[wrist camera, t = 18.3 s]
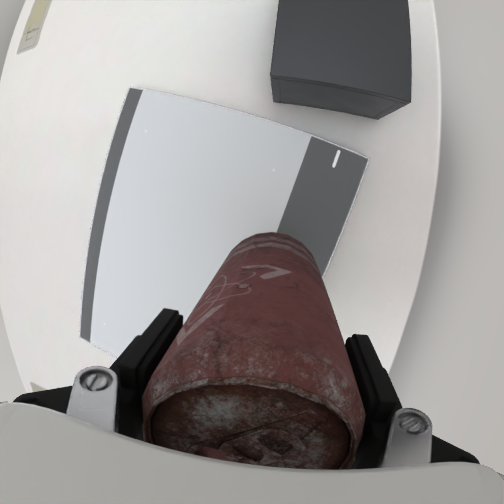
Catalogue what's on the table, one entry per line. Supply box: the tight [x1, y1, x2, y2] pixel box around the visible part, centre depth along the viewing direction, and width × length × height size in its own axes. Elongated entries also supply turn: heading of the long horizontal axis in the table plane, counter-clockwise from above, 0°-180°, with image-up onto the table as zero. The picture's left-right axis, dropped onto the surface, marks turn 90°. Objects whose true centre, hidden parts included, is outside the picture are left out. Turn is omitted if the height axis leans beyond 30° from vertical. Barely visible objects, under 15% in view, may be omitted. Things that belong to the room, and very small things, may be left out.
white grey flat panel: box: [79, 86, 370, 358], centre depth 31 cm, size 32×25×1 cm
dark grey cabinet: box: [270, 0, 412, 120], centre depth 21 cm, size 12×10×8 cm
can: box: [142, 232, 366, 470], centre depth 13 cm, size 6×6×14 cm
